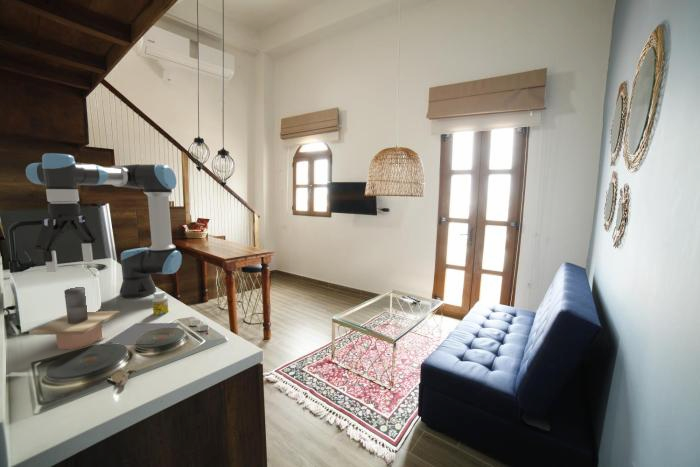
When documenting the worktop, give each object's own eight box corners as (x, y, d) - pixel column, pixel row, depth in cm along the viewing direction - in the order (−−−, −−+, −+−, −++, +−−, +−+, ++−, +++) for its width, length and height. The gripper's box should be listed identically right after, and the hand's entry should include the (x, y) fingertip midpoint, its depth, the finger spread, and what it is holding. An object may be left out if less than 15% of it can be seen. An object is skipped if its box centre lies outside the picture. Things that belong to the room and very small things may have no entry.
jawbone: (95, 390, 79) (93, 382, 79) (157, 351, 99) (156, 345, 99) (123, 391, 77) (122, 384, 77) (181, 352, 97) (180, 346, 97)
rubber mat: (135, 325, 115) (135, 323, 115) (180, 324, 116) (180, 323, 116) (101, 347, 98) (100, 345, 98) (153, 347, 99) (153, 344, 99)
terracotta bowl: (78, 335, 107) (75, 316, 106) (109, 335, 107) (107, 316, 106) (48, 351, 96) (45, 331, 95) (83, 351, 96) (81, 330, 95)
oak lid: (74, 314, 108) (71, 282, 106) (119, 313, 109) (117, 282, 107) (29, 334, 92) (24, 297, 91) (82, 334, 93) (78, 297, 91)
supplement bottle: (171, 312, 128) (169, 290, 127) (162, 317, 123) (161, 295, 122) (159, 311, 128) (157, 290, 127) (150, 316, 123) (148, 294, 122)
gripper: (83, 201, 108) (90, 257, 111) (10, 204, 84) (20, 276, 87) (105, 201, 109) (111, 257, 112) (37, 204, 84) (47, 276, 87)
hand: (71, 266), depth 99 cm, fingers open, 13 cm apart
